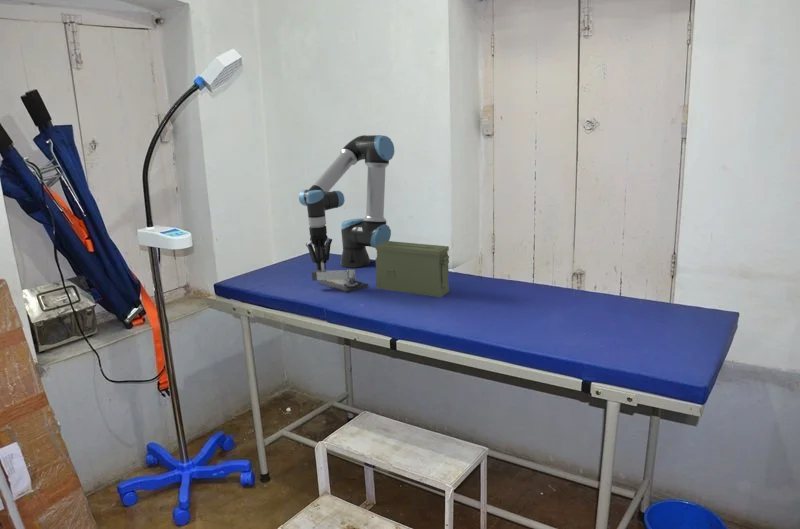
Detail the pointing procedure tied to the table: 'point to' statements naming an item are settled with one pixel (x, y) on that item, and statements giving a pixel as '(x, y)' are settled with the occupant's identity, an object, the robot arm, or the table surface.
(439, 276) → the ammunition box
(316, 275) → the grey long bar
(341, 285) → the plate
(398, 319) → the table surface
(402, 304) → the table surface
